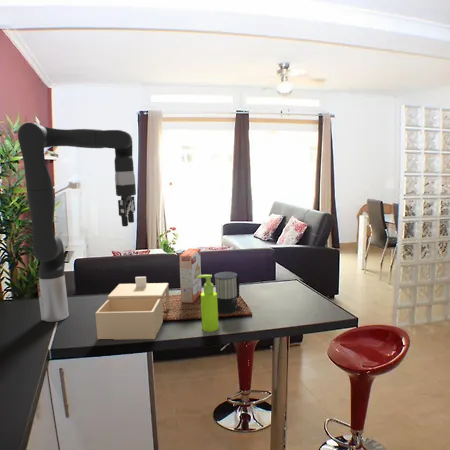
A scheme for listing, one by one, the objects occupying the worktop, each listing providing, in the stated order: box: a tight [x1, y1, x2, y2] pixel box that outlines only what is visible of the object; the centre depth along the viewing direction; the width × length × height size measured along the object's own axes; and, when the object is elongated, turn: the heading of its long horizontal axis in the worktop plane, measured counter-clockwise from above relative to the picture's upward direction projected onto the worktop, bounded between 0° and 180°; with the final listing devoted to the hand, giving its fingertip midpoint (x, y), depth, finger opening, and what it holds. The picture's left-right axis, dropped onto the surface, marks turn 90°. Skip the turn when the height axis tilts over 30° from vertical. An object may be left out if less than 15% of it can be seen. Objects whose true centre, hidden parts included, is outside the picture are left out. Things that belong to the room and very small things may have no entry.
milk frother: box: [214, 271, 240, 315], centre depth 162 cm, size 14×16×15 cm
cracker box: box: [179, 248, 202, 304], centre depth 173 cm, size 14×6×21 cm, turn 168°
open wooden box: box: [95, 286, 170, 341], centre depth 149 cm, size 20×28×10 cm
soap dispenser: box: [197, 274, 219, 333], centre depth 141 cm, size 6×7×20 cm
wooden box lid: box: [107, 276, 169, 298], centre depth 155 cm, size 20×14×5 cm
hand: (128, 224), depth 156 cm, fingers open, 8 cm apart
